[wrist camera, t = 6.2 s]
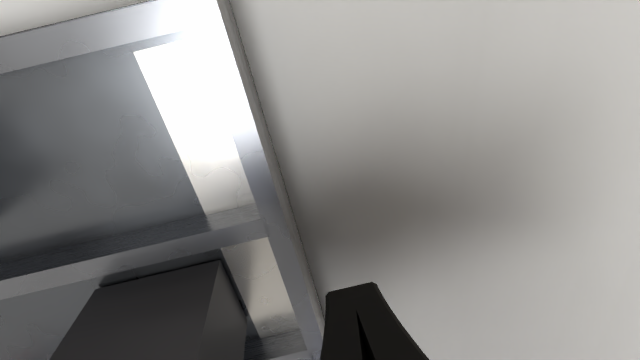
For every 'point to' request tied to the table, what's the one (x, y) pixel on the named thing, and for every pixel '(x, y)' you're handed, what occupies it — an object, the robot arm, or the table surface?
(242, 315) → the block
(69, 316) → the panel
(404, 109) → the table surface
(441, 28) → the table surface
